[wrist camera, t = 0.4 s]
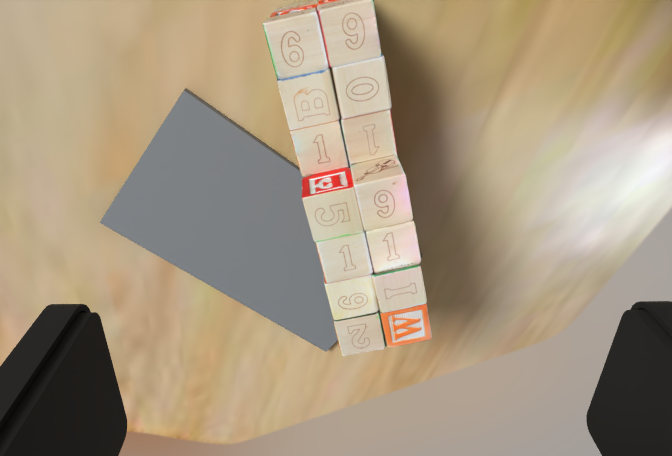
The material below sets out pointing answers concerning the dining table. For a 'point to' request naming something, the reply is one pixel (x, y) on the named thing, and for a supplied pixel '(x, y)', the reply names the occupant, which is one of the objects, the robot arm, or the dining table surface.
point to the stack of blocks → (350, 170)
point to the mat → (227, 217)
